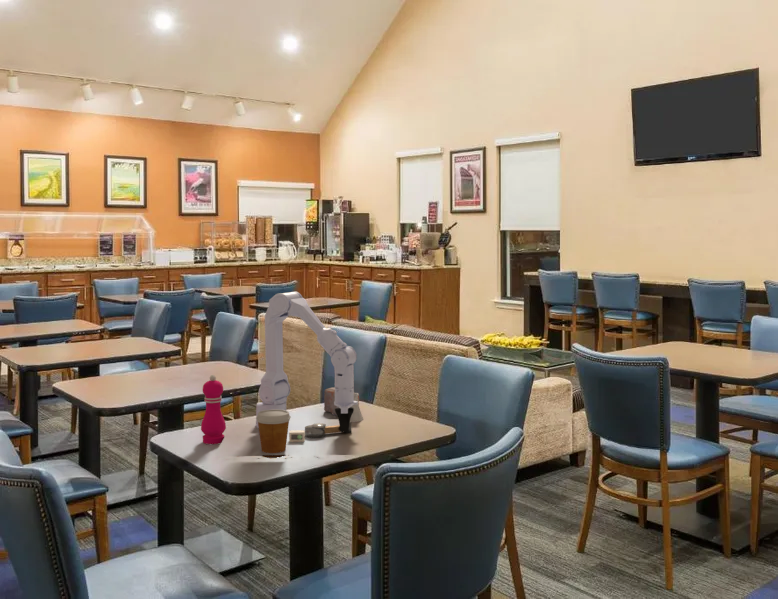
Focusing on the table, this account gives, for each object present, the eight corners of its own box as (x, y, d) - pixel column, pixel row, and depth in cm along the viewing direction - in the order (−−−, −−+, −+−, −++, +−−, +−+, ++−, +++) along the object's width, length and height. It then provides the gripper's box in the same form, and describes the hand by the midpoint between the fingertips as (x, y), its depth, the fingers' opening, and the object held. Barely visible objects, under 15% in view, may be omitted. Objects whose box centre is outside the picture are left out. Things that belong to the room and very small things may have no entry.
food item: (362, 416, 262) (362, 387, 262) (343, 419, 257) (343, 390, 256) (338, 409, 273) (338, 381, 272) (320, 412, 268) (320, 384, 267)
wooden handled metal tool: (308, 438, 227) (308, 428, 226) (302, 434, 232) (302, 424, 232) (354, 433, 233) (354, 423, 232) (347, 429, 238) (347, 419, 238)
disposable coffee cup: (267, 449, 221) (267, 407, 220) (296, 452, 218) (296, 410, 217) (249, 457, 212) (249, 415, 211) (280, 461, 209) (279, 418, 208)
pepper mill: (231, 440, 230) (230, 374, 228) (213, 446, 224) (212, 378, 222) (214, 437, 234) (213, 372, 232) (196, 442, 228) (194, 375, 226)
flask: (366, 421, 255) (366, 391, 254) (363, 427, 247) (363, 396, 247) (344, 421, 255) (344, 391, 254) (341, 426, 248) (341, 395, 247)
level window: (289, 443, 223) (289, 433, 222) (289, 440, 226) (289, 430, 226) (304, 443, 223) (304, 433, 223) (304, 440, 226) (304, 430, 226)
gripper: (357, 392, 225) (358, 437, 226) (357, 382, 239) (357, 425, 240) (333, 392, 224) (334, 438, 225) (334, 383, 239) (334, 426, 240)
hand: (344, 431), depth 233 cm, fingers closed, pressing on wooden handled metal tool
